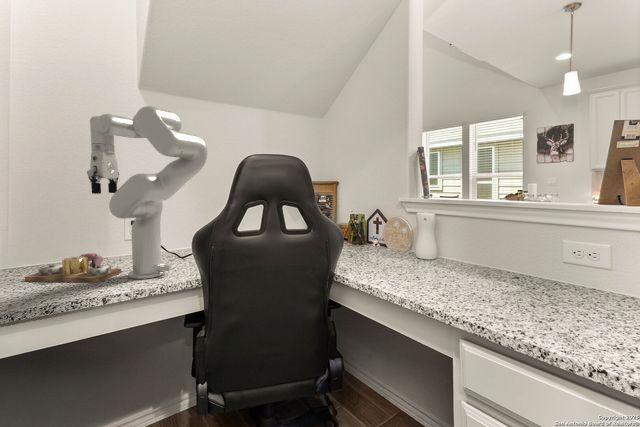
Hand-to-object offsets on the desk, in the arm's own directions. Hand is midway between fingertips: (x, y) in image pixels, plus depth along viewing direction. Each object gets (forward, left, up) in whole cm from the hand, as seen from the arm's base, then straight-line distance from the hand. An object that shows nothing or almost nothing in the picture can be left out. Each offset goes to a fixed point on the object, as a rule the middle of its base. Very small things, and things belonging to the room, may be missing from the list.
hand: (105, 193), depth 126 cm
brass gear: (+4, +12, -29) cm, 31 cm away
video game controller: (+8, 0, -31) cm, 32 cm away
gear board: (+4, +12, -30) cm, 33 cm away
